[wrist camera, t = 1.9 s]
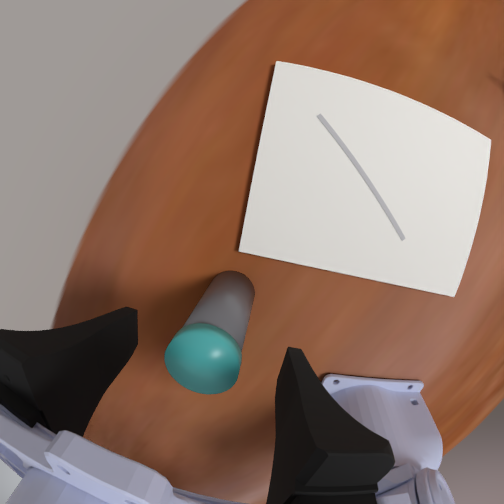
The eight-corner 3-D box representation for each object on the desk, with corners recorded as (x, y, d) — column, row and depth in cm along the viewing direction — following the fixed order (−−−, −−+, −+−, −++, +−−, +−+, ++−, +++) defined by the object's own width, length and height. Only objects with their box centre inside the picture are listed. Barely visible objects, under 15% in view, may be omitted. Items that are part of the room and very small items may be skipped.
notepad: (487, 140, 14) (491, 139, 13) (451, 294, 17) (454, 297, 16) (276, 63, 14) (276, 60, 14) (239, 249, 18) (238, 251, 17)
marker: (260, 275, 18) (244, 346, 10) (251, 318, 19) (232, 401, 11) (212, 264, 18) (165, 326, 11) (205, 307, 19) (164, 382, 11)
